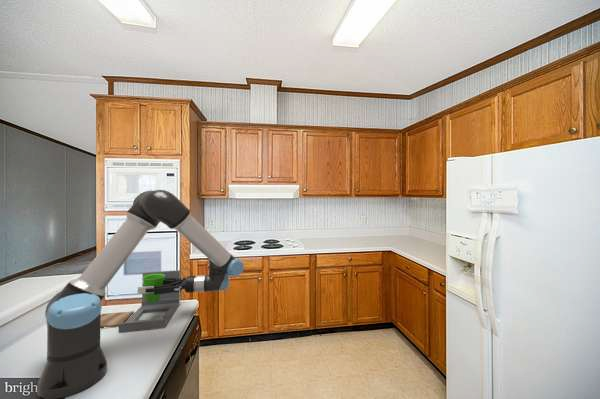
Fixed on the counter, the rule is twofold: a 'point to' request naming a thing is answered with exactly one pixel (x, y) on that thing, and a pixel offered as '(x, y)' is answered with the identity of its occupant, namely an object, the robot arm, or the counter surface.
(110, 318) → the board
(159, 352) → the counter surface
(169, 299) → the equipment case
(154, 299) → the cup
